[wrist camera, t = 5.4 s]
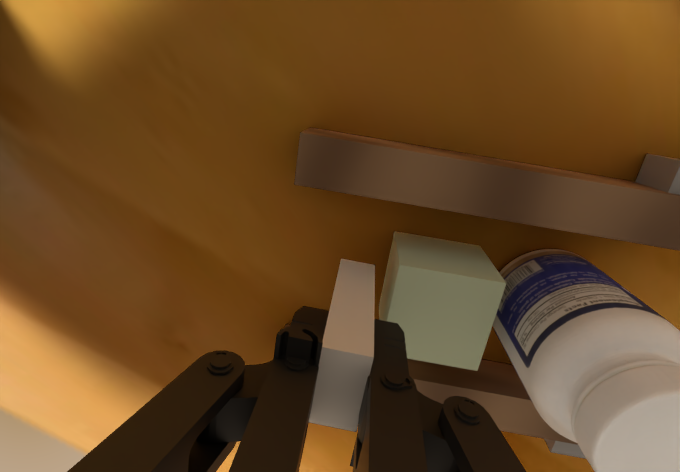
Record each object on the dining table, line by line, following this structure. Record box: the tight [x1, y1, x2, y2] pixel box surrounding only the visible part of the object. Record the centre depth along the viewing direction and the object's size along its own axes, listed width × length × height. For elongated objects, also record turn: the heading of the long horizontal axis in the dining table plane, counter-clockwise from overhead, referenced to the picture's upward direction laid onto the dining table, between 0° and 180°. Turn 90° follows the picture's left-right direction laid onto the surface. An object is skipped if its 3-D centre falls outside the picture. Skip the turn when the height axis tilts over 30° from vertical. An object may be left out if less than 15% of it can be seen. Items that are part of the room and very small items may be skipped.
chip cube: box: [379, 231, 506, 371], centre depth 17 cm, size 4×4×4 cm
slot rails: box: [285, 127, 680, 445], centre depth 18 cm, size 15×12×2 cm
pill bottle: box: [492, 249, 680, 472], centre depth 15 cm, size 5×5×9 cm
